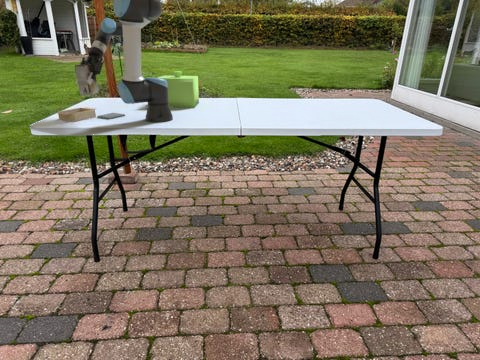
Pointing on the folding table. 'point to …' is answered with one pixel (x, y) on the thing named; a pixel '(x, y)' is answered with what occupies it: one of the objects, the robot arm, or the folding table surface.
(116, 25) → the robot arm
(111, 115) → the mat
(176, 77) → the canister
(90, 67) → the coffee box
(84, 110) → the carton
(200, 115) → the folding table surface
